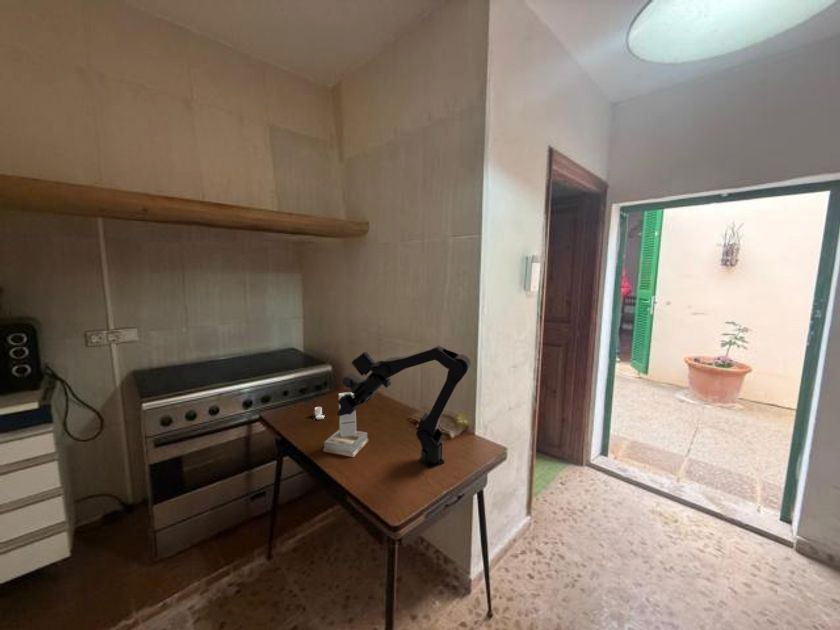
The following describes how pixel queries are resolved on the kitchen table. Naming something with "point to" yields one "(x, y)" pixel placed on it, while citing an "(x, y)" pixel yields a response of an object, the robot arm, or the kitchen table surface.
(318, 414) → the white ring and cylinder
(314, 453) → the kitchen table surface
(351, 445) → the white square tray
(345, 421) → the syrup box
